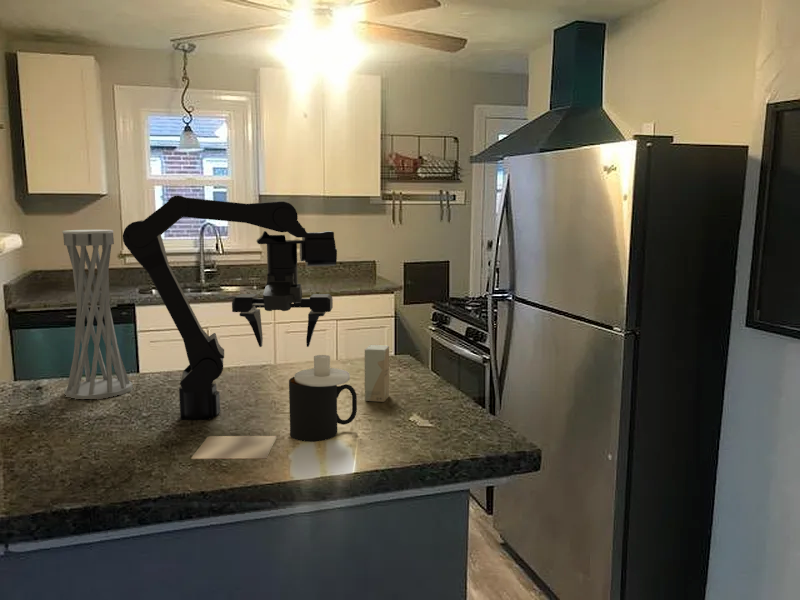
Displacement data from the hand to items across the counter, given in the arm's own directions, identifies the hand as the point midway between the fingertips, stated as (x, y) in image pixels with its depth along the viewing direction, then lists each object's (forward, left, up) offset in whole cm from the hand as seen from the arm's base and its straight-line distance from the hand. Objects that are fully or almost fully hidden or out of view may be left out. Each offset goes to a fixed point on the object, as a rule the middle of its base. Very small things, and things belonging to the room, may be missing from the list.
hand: (284, 346), depth 127 cm
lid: (+9, -14, -3) cm, 17 cm away
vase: (-43, +14, -13) cm, 47 cm away
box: (+18, +8, -13) cm, 24 cm away
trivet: (-5, -21, -13) cm, 25 cm away
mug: (+9, -14, -13) cm, 21 cm away
